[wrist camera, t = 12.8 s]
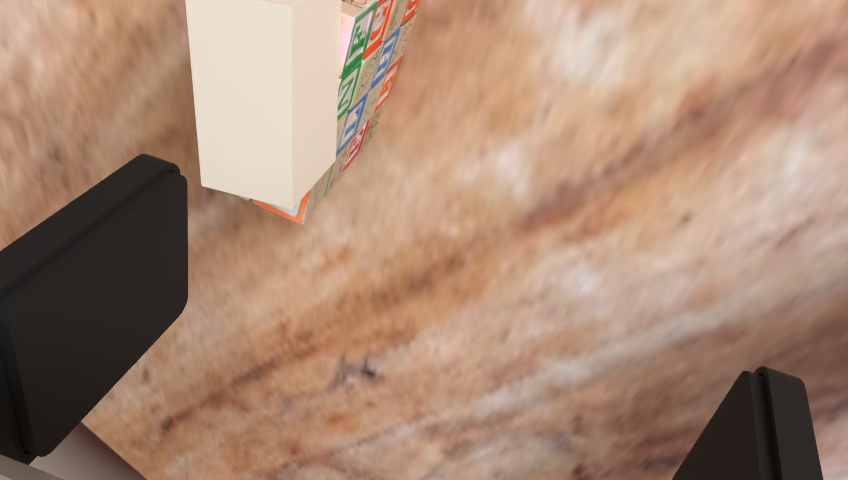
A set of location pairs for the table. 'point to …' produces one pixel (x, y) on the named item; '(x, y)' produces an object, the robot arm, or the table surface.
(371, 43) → the stack of blocks
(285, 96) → the cream bar block
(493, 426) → the table surface
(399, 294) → the table surface
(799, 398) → the robot arm
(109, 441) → the table surface
